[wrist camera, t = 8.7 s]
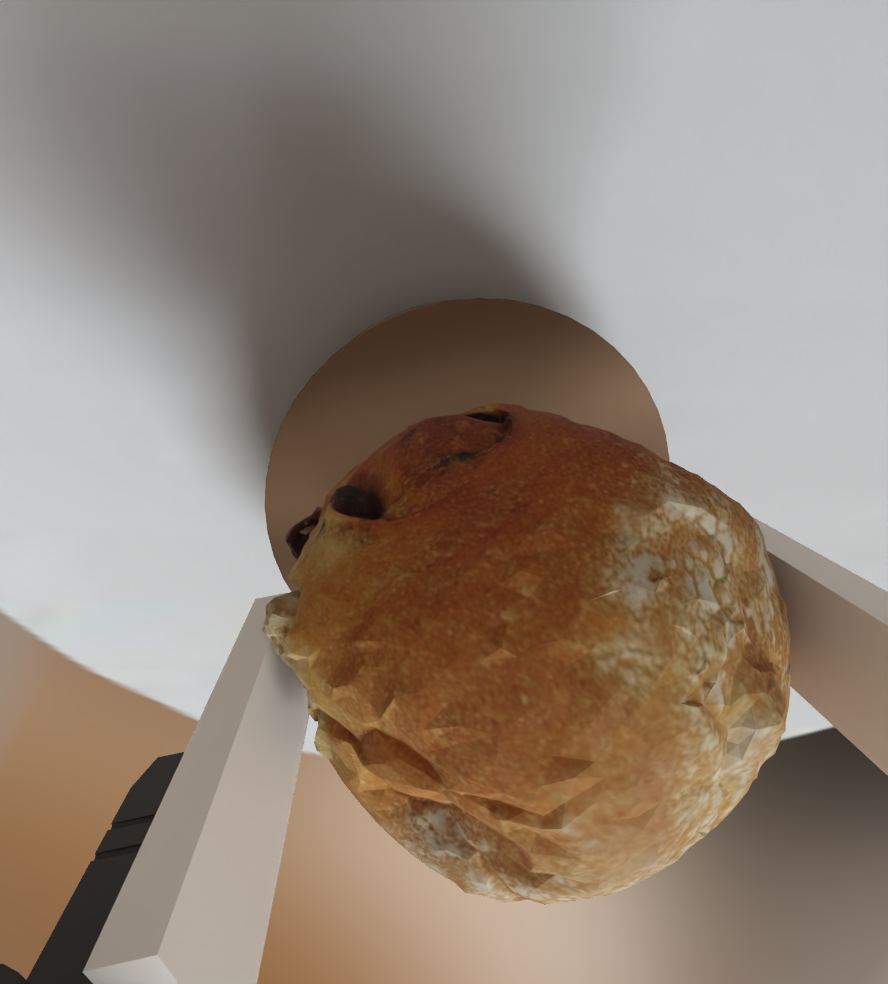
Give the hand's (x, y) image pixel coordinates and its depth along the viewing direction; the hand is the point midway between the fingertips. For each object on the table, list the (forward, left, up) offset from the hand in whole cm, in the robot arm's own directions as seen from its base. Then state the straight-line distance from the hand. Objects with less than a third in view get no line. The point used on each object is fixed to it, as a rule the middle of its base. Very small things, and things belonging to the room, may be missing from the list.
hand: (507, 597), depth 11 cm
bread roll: (0, 0, -1) cm, 1 cm away
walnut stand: (0, 0, -8) cm, 8 cm away
